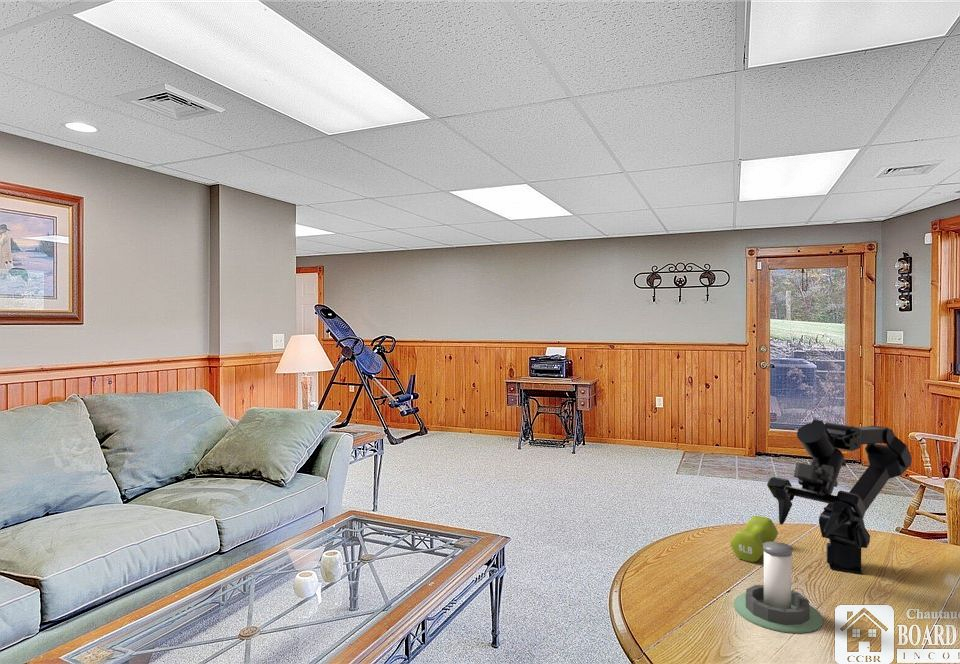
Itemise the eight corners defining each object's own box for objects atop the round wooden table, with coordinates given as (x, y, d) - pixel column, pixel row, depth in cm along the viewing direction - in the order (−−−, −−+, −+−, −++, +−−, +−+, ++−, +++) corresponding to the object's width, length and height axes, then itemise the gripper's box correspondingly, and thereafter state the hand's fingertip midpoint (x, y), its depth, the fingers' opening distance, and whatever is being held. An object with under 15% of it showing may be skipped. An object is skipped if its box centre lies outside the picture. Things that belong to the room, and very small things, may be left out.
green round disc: (819, 602, 123) (819, 589, 122) (825, 641, 108) (825, 625, 108) (736, 587, 130) (736, 574, 130) (731, 621, 115) (731, 607, 115)
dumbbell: (762, 567, 140) (762, 537, 140) (727, 558, 146) (727, 529, 145) (779, 546, 153) (780, 518, 153) (747, 538, 158) (747, 512, 158)
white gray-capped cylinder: (784, 603, 121) (784, 541, 121) (796, 616, 116) (797, 551, 116) (758, 603, 122) (758, 541, 121) (769, 616, 117) (770, 551, 116)
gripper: (771, 442, 137) (747, 498, 131) (860, 456, 123) (839, 520, 116) (786, 469, 143) (764, 525, 136) (874, 487, 128) (854, 550, 121)
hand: (802, 529), depth 127 cm, fingers open, 9 cm apart
